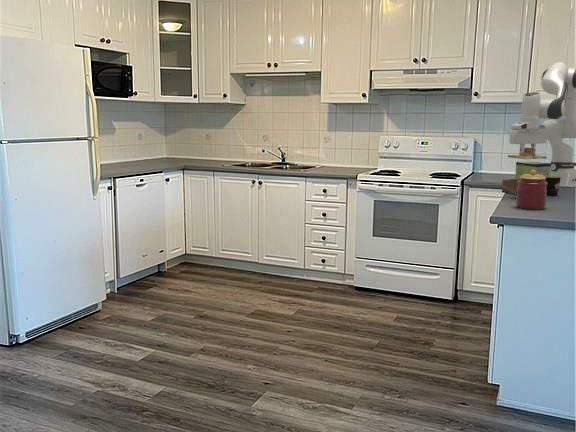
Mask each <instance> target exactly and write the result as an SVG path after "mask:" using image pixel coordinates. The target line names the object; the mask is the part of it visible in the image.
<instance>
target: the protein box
mask: <svg viewBox="0 0 576 432" xmlns="http://www.w3.org/2000/svg"><path fill="white" fill-rule="evenodd" d="M531 170H535V171H536V174H540V175H543V176H550V170H551V162H541V161H532V160H529V161H528V160H527V161H516V163H515V176H514V179H521V178H520V176H522V175H523V174H530V171H531Z"/></svg>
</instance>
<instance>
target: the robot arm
mask: <svg viewBox="0 0 576 432" xmlns="http://www.w3.org/2000/svg"><path fill="white" fill-rule="evenodd" d="M540 86H541V88H542V90H543V91H544V92H545V93H547V94H549V95H555V98H552V99H550V98H549V99H542V98H541V93H539V92H534V91H533V92H531V91H530V92H527V93H524V95H523V97H522V101H521V106H520V112H521V117H520V119H519V121H518V122H516V123H512V124H511V125H510V128H511V130H510V133H509V144H511V145H519V149H520V148H521V153H526V149H525V148H526V146H525V145H528V144H529V145H530V146H531V147H530V148H536V147H537V144H538V145H539V144H546V143H547V140H548V142H549V144H550V147H551V161H550V163H551V168H550V176H560V177H561V179H560V184H559V188H560V187H563V188H565V187H566V188H576V169H575V167H576V162H573V156H574V149H573V147H572V146H571V145H569V144H567V143H565V142H564V141H563V139H576V68H575V67H574V68H573V67H568V65H567V64H565V63H564V62H560V61H559V62H556V63H553V64H552V65H551V66H550V67H549V68H548V69H546V70H544V71H543V72H542V75H541V82H540ZM562 116H564V119H563V118H562V119H561V117H562ZM540 119H544V121H543V122H542V124H540ZM545 119H546V120H545ZM524 147H525V148H524Z"/></svg>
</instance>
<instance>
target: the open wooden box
mask: <svg viewBox="0 0 576 432" xmlns="http://www.w3.org/2000/svg"><path fill="white" fill-rule="evenodd" d="M519 180H520V179H515V178H513V179H509V178H508V179H502V185H501V193H503V194H509V195H512V196H517V188H518V183H517V182H518V181H519Z"/></svg>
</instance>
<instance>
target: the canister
mask: <svg viewBox="0 0 576 432" xmlns="http://www.w3.org/2000/svg"><path fill="white" fill-rule="evenodd" d="M520 178H521V179H520V180H519V181H518V182H517V183H518V188H517V195H516V201H515V207H516V208H519V209H522V210H523V209H524V210H544V209H546V206H547V196H546V193H547V190H546V185H547V184H548V183H547V182H546V181H545V179H546V177H544V176H543V175H540V174H536V171H535V170H531V171H530V174H523V175H522V176H520Z"/></svg>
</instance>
